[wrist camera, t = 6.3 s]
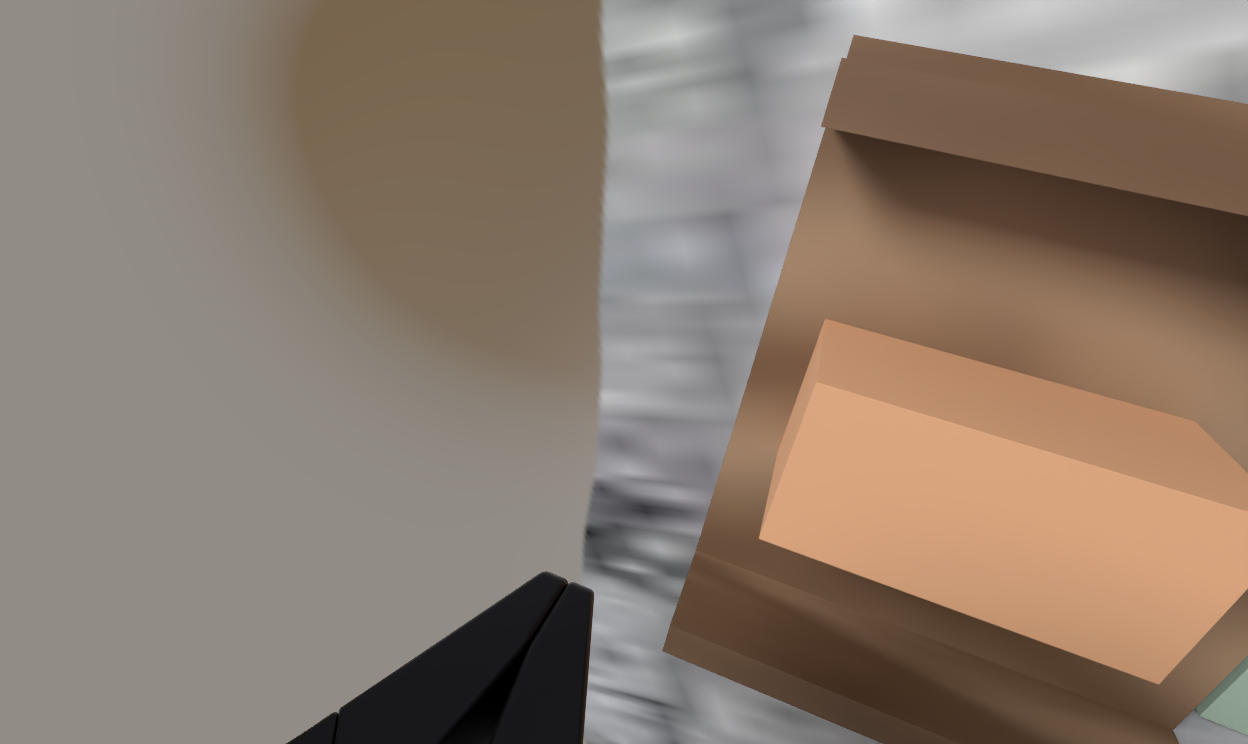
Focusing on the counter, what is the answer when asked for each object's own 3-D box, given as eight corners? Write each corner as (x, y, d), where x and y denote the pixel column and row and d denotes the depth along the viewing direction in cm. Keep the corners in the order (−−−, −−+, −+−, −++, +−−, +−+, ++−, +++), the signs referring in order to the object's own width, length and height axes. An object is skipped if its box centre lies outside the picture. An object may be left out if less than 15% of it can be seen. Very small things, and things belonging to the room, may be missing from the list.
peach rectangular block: (1095, 558, 17) (1158, 684, 13) (777, 453, 19) (758, 538, 15) (1195, 421, 15) (1302, 528, 11) (825, 318, 17) (816, 382, 13)
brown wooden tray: (1126, 735, 20) (1191, 889, 16) (691, 567, 23) (658, 663, 19) (1652, 179, 12) (2048, 224, 8) (854, 38, 15) (852, 20, 11)
